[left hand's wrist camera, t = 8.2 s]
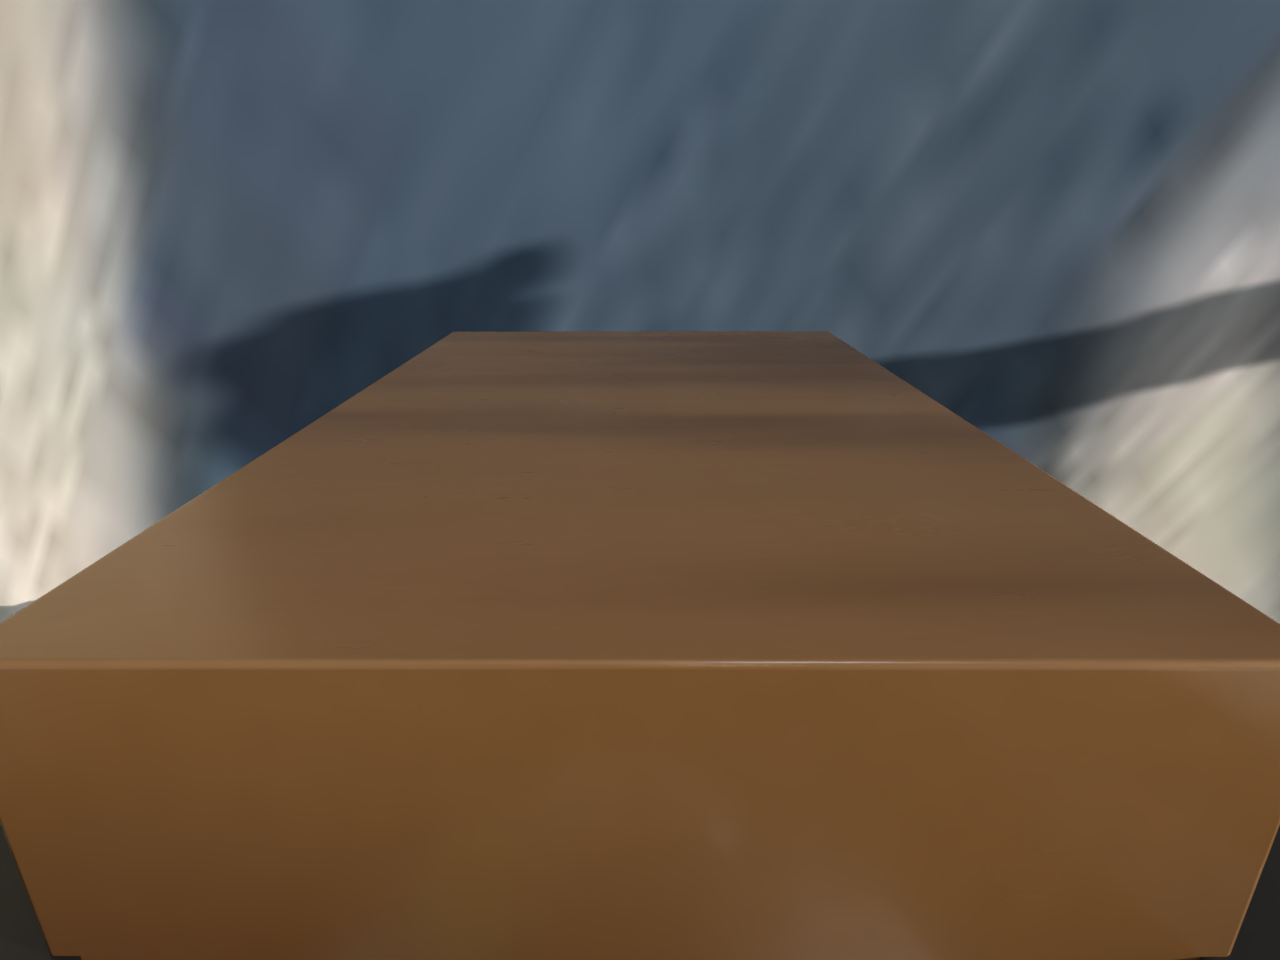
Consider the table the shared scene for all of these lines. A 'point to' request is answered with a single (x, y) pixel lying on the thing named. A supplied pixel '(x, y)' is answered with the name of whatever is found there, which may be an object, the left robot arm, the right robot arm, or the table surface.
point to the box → (640, 686)
